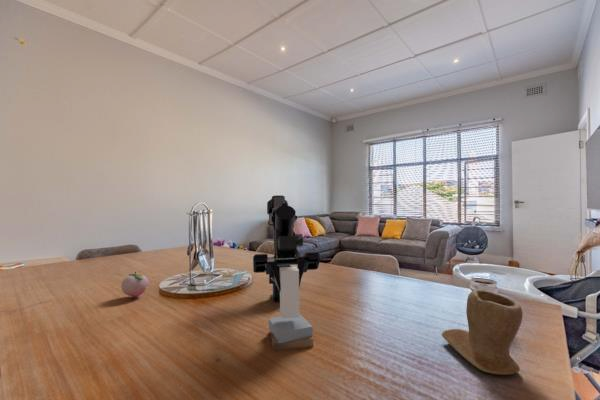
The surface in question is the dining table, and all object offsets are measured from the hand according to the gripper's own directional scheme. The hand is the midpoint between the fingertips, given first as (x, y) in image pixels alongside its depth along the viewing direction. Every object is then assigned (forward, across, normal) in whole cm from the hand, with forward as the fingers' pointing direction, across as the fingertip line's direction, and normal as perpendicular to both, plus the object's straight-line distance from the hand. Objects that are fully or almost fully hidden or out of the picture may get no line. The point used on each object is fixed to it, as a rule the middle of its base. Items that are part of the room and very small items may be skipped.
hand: (289, 289), depth 72 cm
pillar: (+4, 0, +5) cm, 7 cm away
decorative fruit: (-21, -55, +40) cm, 71 cm away
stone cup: (+21, +42, -3) cm, 47 cm away
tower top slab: (+8, 0, +8) cm, 11 cm away
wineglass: (+10, +57, +9) cm, 59 cm away
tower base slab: (+10, 0, +10) cm, 14 cm away
